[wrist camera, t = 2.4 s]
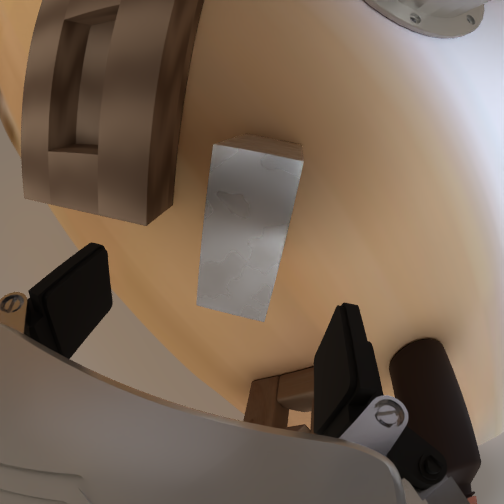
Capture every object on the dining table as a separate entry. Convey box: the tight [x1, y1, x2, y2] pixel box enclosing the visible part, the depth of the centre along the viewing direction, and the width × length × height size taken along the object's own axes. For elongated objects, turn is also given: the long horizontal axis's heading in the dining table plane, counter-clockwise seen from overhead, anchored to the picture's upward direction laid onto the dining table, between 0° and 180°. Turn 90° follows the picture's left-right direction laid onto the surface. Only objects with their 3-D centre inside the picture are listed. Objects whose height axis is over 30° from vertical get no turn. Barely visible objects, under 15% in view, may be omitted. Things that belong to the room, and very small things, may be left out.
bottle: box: [389, 339, 481, 504], centre depth 17 cm, size 7×7×20 cm
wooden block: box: [244, 367, 318, 435], centre depth 21 cm, size 4×11×18 cm, turn 120°
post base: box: [21, 0, 204, 226], centre depth 16 cm, size 20×14×4 cm
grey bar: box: [197, 134, 304, 322], centre depth 17 cm, size 9×4×8 cm, turn 170°
